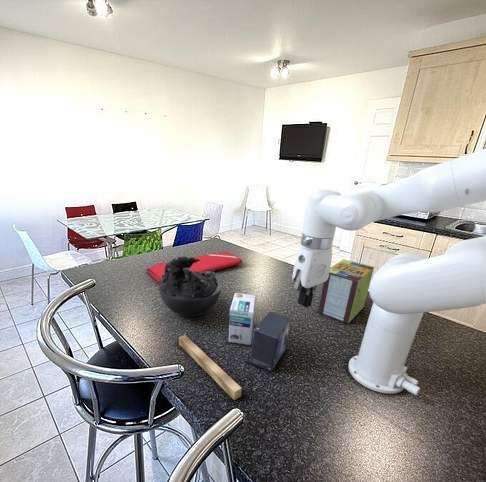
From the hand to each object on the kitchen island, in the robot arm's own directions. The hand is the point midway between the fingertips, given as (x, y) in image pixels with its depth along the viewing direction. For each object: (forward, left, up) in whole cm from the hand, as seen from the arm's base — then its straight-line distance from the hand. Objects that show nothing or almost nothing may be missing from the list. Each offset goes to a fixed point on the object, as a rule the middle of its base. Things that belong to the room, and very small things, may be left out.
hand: (304, 304), depth 80 cm
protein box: (+3, -26, -12) cm, 29 cm away
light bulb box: (+12, +12, -12) cm, 20 cm away
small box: (0, +13, -12) cm, 17 cm away
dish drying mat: (+61, -4, -12) cm, 62 cm away
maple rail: (+6, +29, -12) cm, 32 cm away
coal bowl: (+31, +18, -12) cm, 37 cm away
